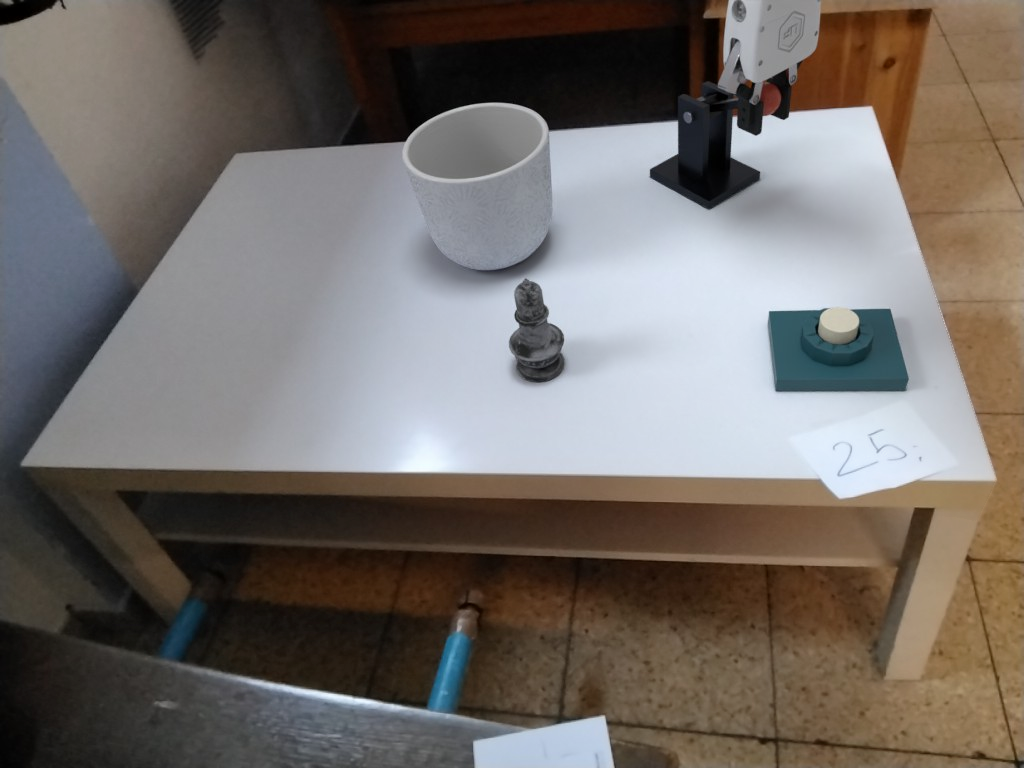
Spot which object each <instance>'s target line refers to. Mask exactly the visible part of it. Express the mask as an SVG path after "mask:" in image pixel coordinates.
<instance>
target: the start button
mask: <svg viewBox="0 0 1024 768" xmlns="http://www.w3.org/2000/svg"><path fill="white" fill-rule="evenodd" d="M829 308H830V309H827V310H825V311H824V312H823V313H822V314H821V316H820V321H819V327H818V333H819V336H820V337H821V338H822V339H823V340H824V341H826V342H828V343H831V344H836V345H843V344H847V343H850V342H852V341H853V340H854V339H855V338H856V335H857V331H858V326H859V318H858V316H857V315H856V314H855V313H854V312H853V311H851V310H849V308H845V307H840V306H839V307H838V306H837V307H829Z"/></svg>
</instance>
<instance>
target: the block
mask: <svg viewBox="0 0 1024 768" xmlns="http://www.w3.org/2000/svg"><path fill="white" fill-rule="evenodd" d="M830 308H831V307H823V308H821V309H809V310H808V309H805V310H804V309H803V310H799V309H798V310H769V311H768V315H767V317H768V318H767V327H768V336H769V347H770V354H771V362H772V371H773V381H774V389H775V392H900V391H901V392H903V391H904V392H905V391H907V387H908V383H909V380H910V378H909V375H908V371H907V367H906V363H905V359H904V356H903V351H902V348H901V343H900V340H899V336H898V332H897V329H896V325H895V321H894V317H893V313H892V309H891V308H853V309H851V308H850V309H849V308H848V309H849V310H851V311H853V312H854V313H855V314H856V315H857V316H858V318H859V326H858V331H857V335H856V338H855V339H854V340H853V341H852V342H850V343H847V344H843V345H836V344H831V343H828V342H826V341H824V340H823V339H822V338H821V337H820V336H819V333H818V327H819V321H820V316H821V314H822V313H823V312H824V311H825V310H827V309H830Z"/></svg>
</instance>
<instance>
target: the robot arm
mask: <svg viewBox="0 0 1024 768" xmlns="http://www.w3.org/2000/svg"><path fill="white" fill-rule="evenodd" d="M821 8H822V0H728V2H727V8H726V16H725V24H724V33H723V34H724V35H723V50H722V51H723V52H722V54H723V55H722V56H723V57H722V58H723V59H722V61H723V71H722V73H721V75H720V78H719V80H718V83H717V85H718V88H719V89H721V90H724V91H726V92H729V93H733V94H734V98H738V109H737V113H736V126H737V128H738V129H740V130H742V131H744V132H746V133H749V134H751V135H753V136H759V135H761V134H762V130H763V120H764V119H763V118H764V116H763V107H764V102H762V101H760V96H761V91H762V85H763V83H764V81H765V82H769V83H772V84H774V85H775V86H777V87H778V89H779V90H780V93H781V103H780V105H779V107H778V109H777V110H776V111H775V112H774V113H772V114H771V115H770V116H772V117H774V118H777V119H780V120H781V121H785V120H787V119H788V118H789V117H790V109H791V99H792V89H793V86H792V85H794V84H795V83H796V81H797V80H798V70H799V68H800V66H801V65H802V63H803V61H804V60H805V59H807V58H809V57H810V56H811V55H812V54H813V53H814V52H815V51H816V50H817V47H818V41H819V34H820V24H821ZM748 81H750V82H751V85H750V86H749V85H748V84H747V82H748Z"/></svg>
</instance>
